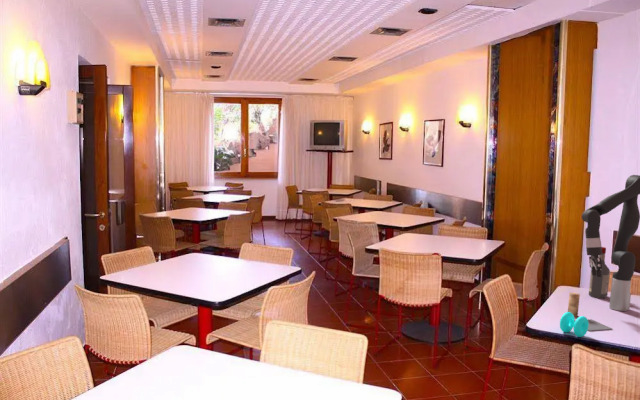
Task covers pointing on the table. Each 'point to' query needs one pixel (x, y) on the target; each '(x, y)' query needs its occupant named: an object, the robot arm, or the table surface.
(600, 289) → the liquor
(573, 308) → the oak roller
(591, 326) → the slate pad
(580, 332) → the turquoise spool
